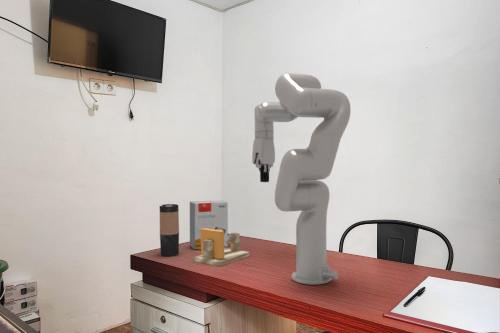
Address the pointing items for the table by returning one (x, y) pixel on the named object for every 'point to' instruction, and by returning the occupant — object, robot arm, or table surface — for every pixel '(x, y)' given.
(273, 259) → the table surface
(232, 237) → the pipe
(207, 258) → the pipe stand
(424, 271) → the table surface
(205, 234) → the collar
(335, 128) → the robot arm
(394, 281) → the table surface
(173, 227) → the travel mug
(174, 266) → the table surface
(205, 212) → the hard drive box
